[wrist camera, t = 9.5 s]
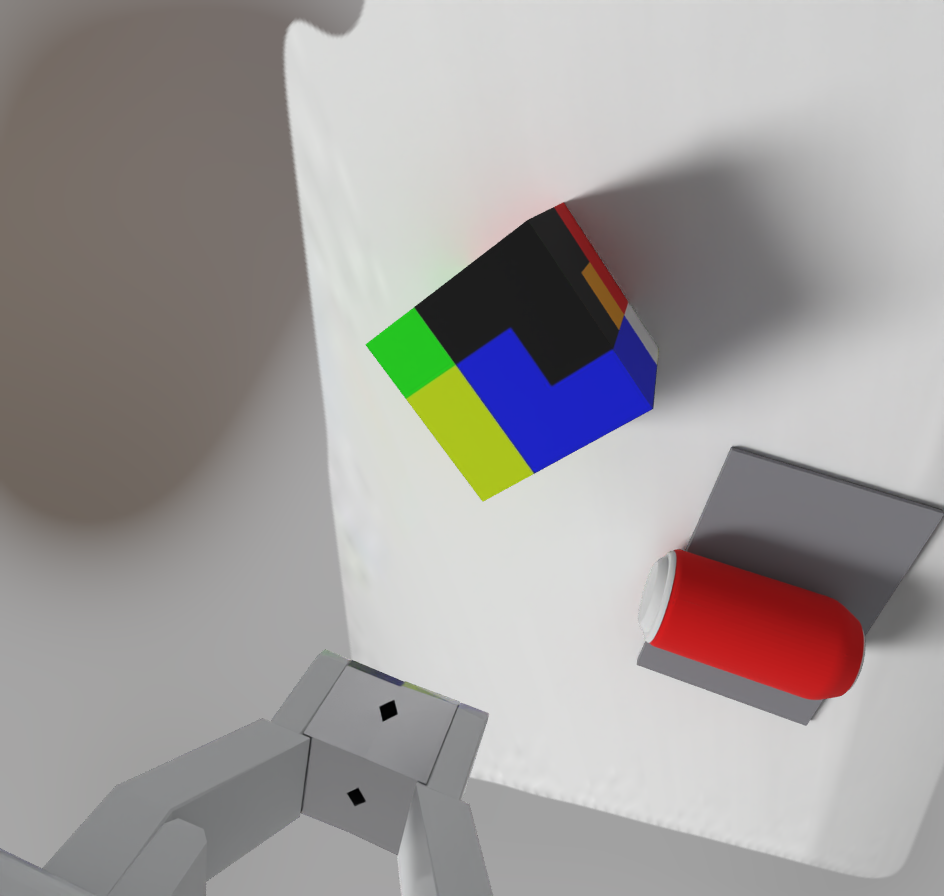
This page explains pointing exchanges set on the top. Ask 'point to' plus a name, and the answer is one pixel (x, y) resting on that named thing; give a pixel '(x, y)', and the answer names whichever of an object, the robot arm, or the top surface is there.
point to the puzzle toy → (522, 355)
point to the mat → (799, 554)
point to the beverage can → (751, 626)
